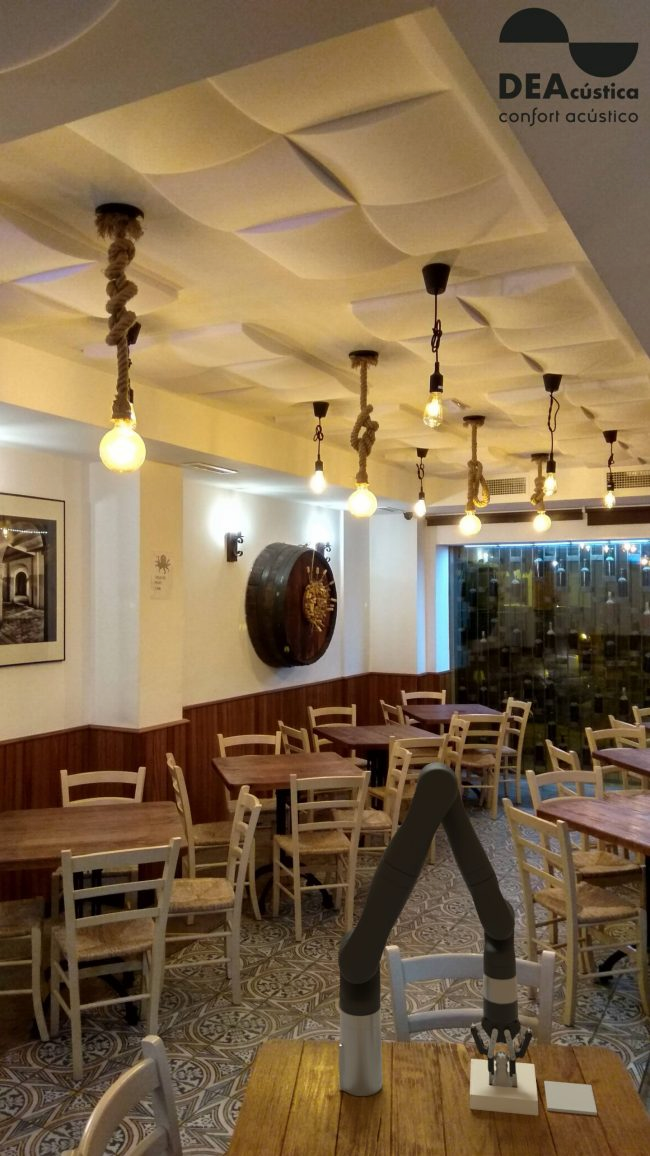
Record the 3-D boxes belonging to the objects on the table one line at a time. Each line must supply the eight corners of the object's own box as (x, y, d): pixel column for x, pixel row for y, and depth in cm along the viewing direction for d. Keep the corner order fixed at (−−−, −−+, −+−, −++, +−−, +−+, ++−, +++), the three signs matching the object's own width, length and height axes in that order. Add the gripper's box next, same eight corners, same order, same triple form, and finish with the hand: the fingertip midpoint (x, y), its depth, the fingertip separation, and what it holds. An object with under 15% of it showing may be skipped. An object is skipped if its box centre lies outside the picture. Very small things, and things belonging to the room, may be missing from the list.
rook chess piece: (513, 1098, 176) (512, 1060, 177) (491, 1095, 177) (490, 1058, 177) (512, 1086, 181) (511, 1049, 181) (491, 1084, 181) (491, 1047, 182)
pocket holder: (470, 1108, 173) (469, 1094, 173) (471, 1072, 187) (471, 1058, 187) (538, 1115, 171) (537, 1100, 171) (534, 1077, 184) (534, 1064, 184)
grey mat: (547, 1110, 172) (547, 1107, 172) (544, 1083, 182) (544, 1080, 182) (597, 1115, 170) (597, 1112, 170) (591, 1087, 180) (591, 1084, 180)
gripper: (467, 999, 177) (468, 1080, 177) (534, 1004, 175) (536, 1087, 174) (468, 983, 185) (469, 1061, 184) (532, 988, 182) (534, 1067, 181)
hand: (502, 1073), depth 179 cm, fingers closed on rook chess piece, 3 cm apart
